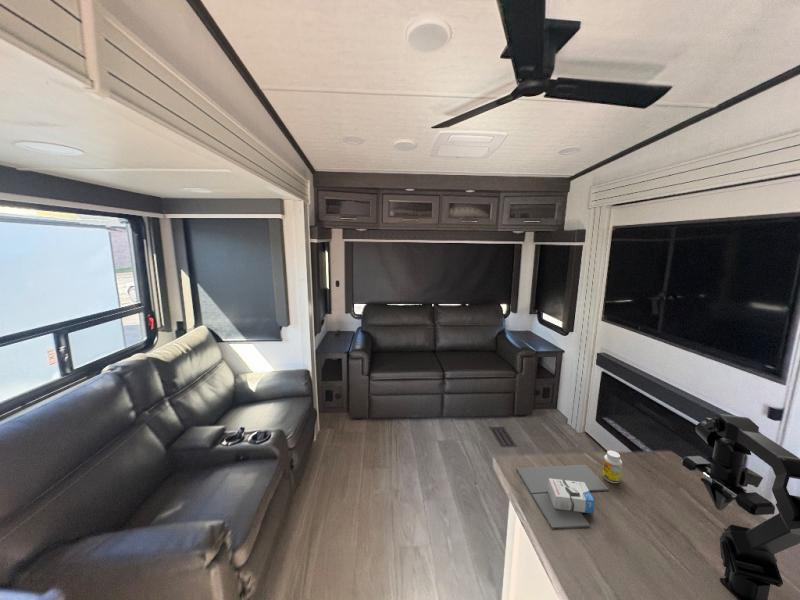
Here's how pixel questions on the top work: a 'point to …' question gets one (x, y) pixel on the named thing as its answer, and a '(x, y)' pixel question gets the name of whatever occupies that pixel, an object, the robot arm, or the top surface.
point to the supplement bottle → (612, 467)
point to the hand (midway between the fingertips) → (719, 509)
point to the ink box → (570, 496)
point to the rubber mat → (538, 488)
